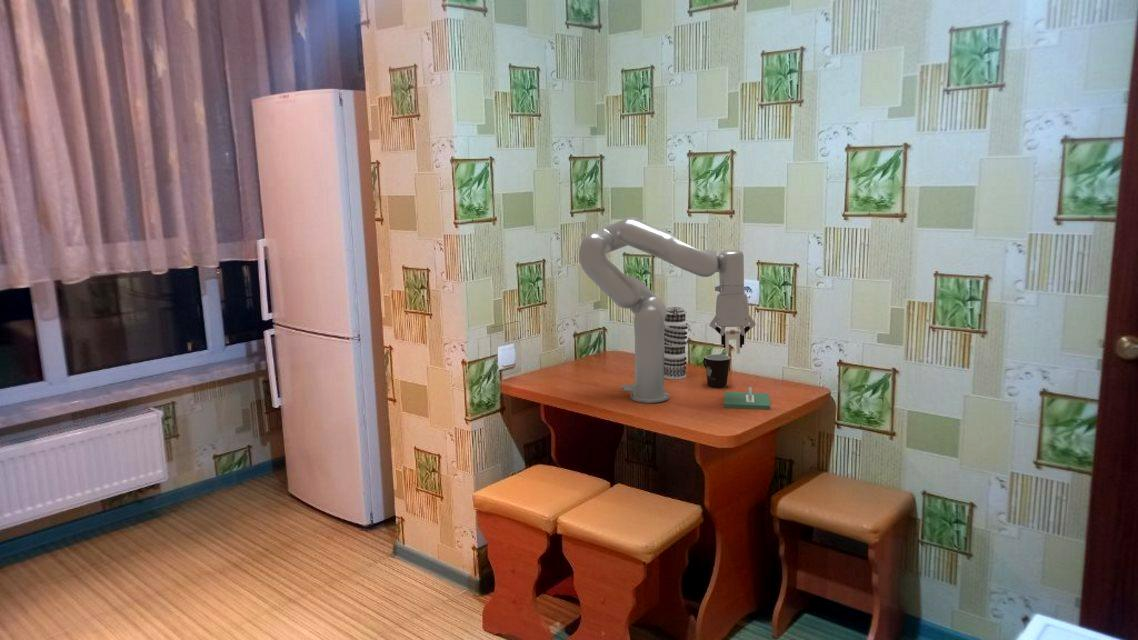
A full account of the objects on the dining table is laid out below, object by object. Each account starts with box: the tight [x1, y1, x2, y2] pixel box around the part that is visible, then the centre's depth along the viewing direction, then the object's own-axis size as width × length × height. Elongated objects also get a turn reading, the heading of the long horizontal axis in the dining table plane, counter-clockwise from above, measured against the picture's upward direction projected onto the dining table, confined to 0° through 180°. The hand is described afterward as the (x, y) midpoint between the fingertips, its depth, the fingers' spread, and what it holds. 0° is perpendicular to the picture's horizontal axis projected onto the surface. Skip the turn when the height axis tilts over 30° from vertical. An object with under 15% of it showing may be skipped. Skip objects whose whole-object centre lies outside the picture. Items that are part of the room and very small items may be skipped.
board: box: [723, 386, 771, 411], centre depth 250 cm, size 14×14×4 cm
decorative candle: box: [664, 306, 689, 380], centre depth 281 cm, size 9×9×25 cm
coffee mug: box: [702, 353, 731, 389], centre depth 271 cm, size 12×9×10 cm
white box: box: [724, 329, 741, 355], centre depth 248 cm, size 4×8×6 cm, turn 168°
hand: (732, 346), depth 248 cm, fingers closed on white box, 4 cm apart
